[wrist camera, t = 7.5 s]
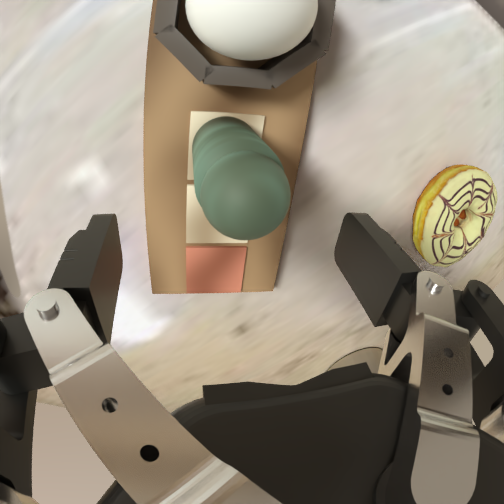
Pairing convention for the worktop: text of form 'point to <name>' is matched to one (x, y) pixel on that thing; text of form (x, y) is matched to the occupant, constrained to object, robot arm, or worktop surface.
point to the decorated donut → (453, 214)
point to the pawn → (238, 179)
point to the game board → (181, 139)
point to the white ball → (251, 25)
